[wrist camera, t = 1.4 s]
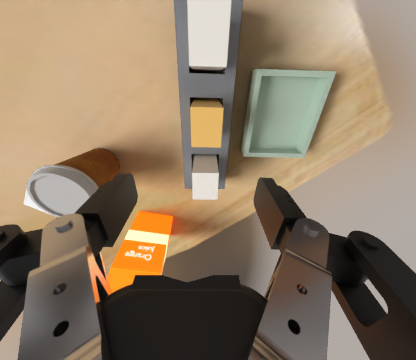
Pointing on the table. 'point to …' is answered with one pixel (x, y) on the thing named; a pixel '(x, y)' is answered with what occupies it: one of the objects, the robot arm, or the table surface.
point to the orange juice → (141, 249)
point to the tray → (283, 111)
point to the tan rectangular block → (206, 122)
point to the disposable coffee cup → (71, 181)
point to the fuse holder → (205, 89)
